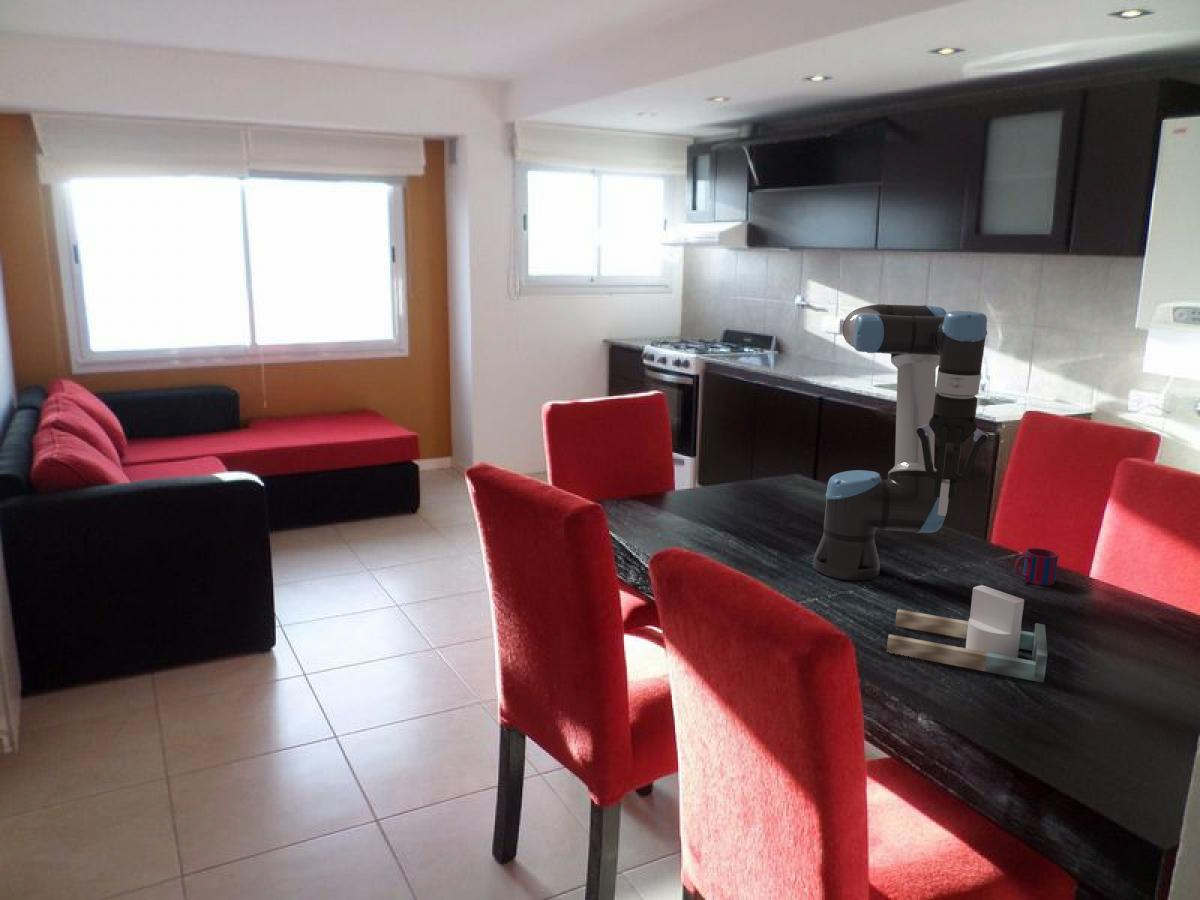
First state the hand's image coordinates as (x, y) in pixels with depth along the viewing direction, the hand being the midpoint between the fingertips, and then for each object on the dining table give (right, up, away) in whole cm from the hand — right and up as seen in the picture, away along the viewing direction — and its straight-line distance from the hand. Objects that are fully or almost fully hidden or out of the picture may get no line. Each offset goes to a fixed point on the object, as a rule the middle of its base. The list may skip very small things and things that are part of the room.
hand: (942, 513), depth 176 cm
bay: (+1, -25, -5) cm, 26 cm away
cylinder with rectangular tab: (+7, -26, -7) cm, 28 cm away
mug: (+33, -18, +32) cm, 50 cm away
